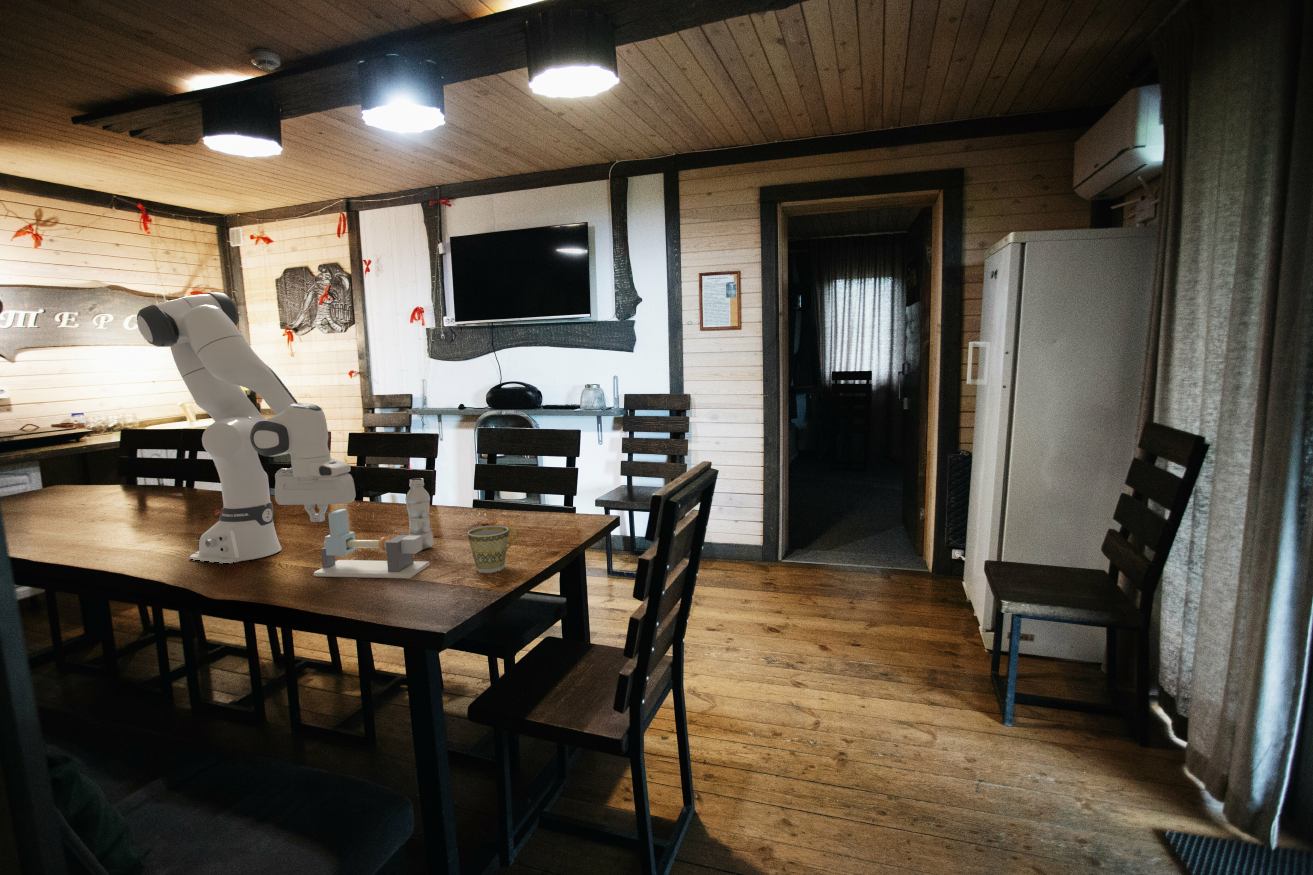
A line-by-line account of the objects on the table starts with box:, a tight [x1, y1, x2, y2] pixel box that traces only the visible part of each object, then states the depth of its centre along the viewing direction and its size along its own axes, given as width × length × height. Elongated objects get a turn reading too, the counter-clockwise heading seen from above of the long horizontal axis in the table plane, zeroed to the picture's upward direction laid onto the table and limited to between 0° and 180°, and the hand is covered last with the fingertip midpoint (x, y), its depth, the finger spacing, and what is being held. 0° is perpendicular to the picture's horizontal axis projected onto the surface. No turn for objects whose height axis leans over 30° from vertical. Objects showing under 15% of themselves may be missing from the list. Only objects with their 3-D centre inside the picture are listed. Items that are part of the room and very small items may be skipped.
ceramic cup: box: [467, 525, 520, 574], centre depth 162 cm, size 13×10×10 cm
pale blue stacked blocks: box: [324, 508, 357, 557], centre depth 163 cm, size 5×5×11 cm
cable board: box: [313, 534, 430, 579], centre depth 163 cm, size 26×10×9 cm, turn 82°
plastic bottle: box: [405, 477, 434, 551], centre depth 180 cm, size 6×7×20 cm
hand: (317, 521), depth 164 cm, fingers closed
